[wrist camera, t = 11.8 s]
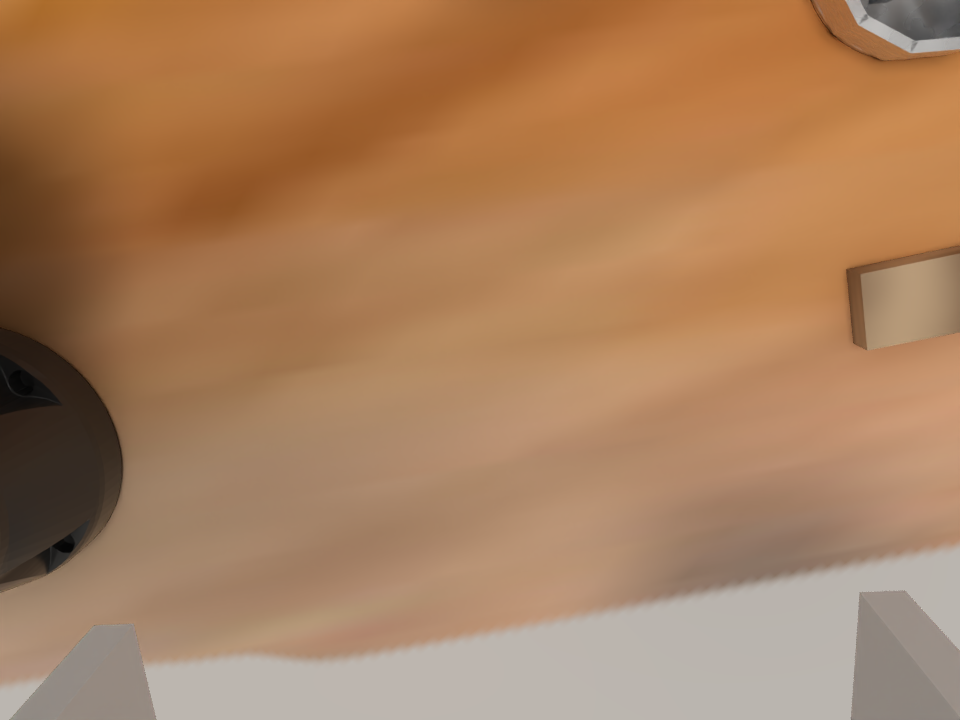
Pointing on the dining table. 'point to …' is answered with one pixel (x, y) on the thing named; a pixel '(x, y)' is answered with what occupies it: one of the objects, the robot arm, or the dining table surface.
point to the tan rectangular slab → (905, 299)
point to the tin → (894, 26)
